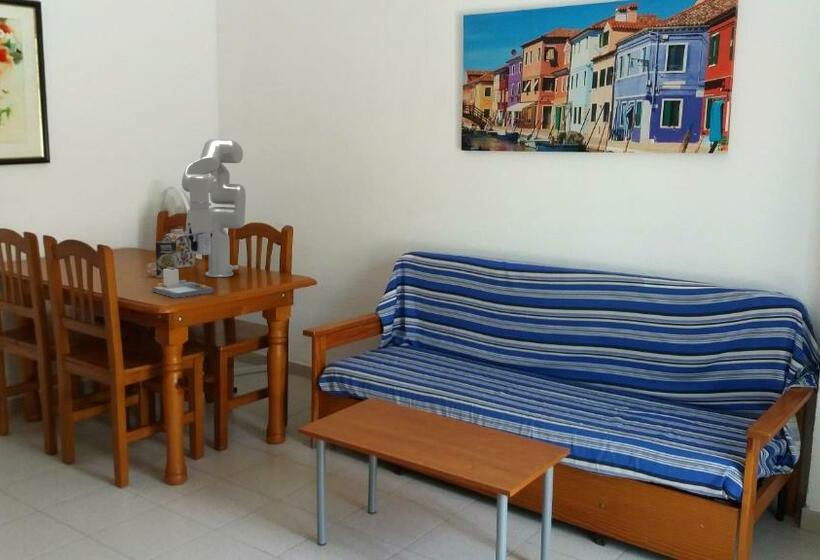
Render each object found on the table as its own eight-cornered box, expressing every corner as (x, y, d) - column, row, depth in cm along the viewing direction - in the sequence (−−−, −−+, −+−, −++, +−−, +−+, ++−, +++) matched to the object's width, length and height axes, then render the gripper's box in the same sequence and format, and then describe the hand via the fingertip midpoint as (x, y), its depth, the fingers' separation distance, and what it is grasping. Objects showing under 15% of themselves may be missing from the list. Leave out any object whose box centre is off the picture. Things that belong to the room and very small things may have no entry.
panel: (190, 286, 347) (189, 279, 347) (213, 292, 336) (212, 285, 335) (152, 291, 334) (152, 284, 333) (174, 298, 323) (174, 290, 322)
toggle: (172, 284, 339) (171, 266, 337) (178, 286, 335) (178, 267, 334) (163, 285, 336) (163, 267, 334) (170, 287, 333) (169, 268, 331)
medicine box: (211, 254, 334) (211, 233, 332) (203, 255, 330) (203, 234, 328) (197, 252, 337) (196, 231, 336) (189, 253, 333) (189, 232, 332)
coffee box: (156, 278, 363) (155, 242, 360) (156, 275, 369) (155, 240, 366) (177, 277, 365) (176, 242, 362) (177, 275, 371) (176, 240, 368)
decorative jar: (195, 266, 394) (195, 230, 390) (173, 269, 386) (172, 231, 382) (184, 263, 402) (183, 227, 399) (162, 265, 395) (161, 229, 391)
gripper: (211, 204, 339) (211, 247, 342) (176, 206, 326) (177, 251, 329) (222, 205, 334) (222, 249, 337) (187, 208, 321) (187, 253, 324)
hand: (200, 249), depth 333 cm, fingers closed on medicine box, 5 cm apart
